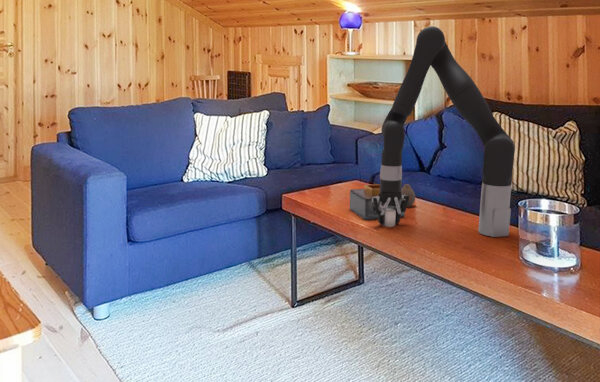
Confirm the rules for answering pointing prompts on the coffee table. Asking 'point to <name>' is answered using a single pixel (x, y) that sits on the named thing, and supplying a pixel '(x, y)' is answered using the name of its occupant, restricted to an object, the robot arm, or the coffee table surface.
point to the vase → (408, 194)
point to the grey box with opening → (367, 202)
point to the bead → (389, 217)
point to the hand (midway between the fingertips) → (389, 223)
